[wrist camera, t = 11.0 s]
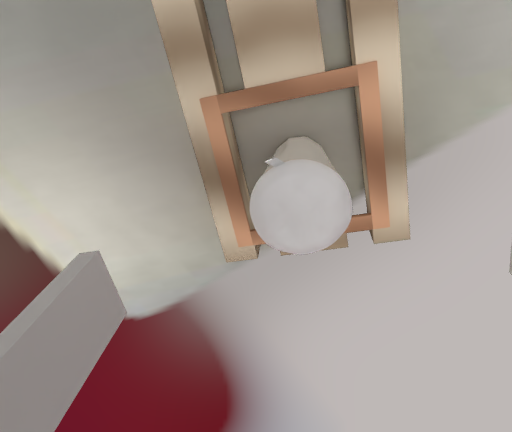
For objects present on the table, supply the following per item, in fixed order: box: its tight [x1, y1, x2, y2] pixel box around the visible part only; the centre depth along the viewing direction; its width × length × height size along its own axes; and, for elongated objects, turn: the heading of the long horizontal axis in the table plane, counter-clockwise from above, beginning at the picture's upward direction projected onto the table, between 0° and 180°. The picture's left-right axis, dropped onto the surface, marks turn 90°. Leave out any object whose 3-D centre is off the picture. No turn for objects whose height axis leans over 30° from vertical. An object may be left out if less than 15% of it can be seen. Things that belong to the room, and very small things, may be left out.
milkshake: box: [250, 136, 353, 255], centre depth 20 cm, size 4×5×10 cm
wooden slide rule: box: [151, 0, 410, 262], centre depth 20 cm, size 28×12×2 cm, turn 12°
